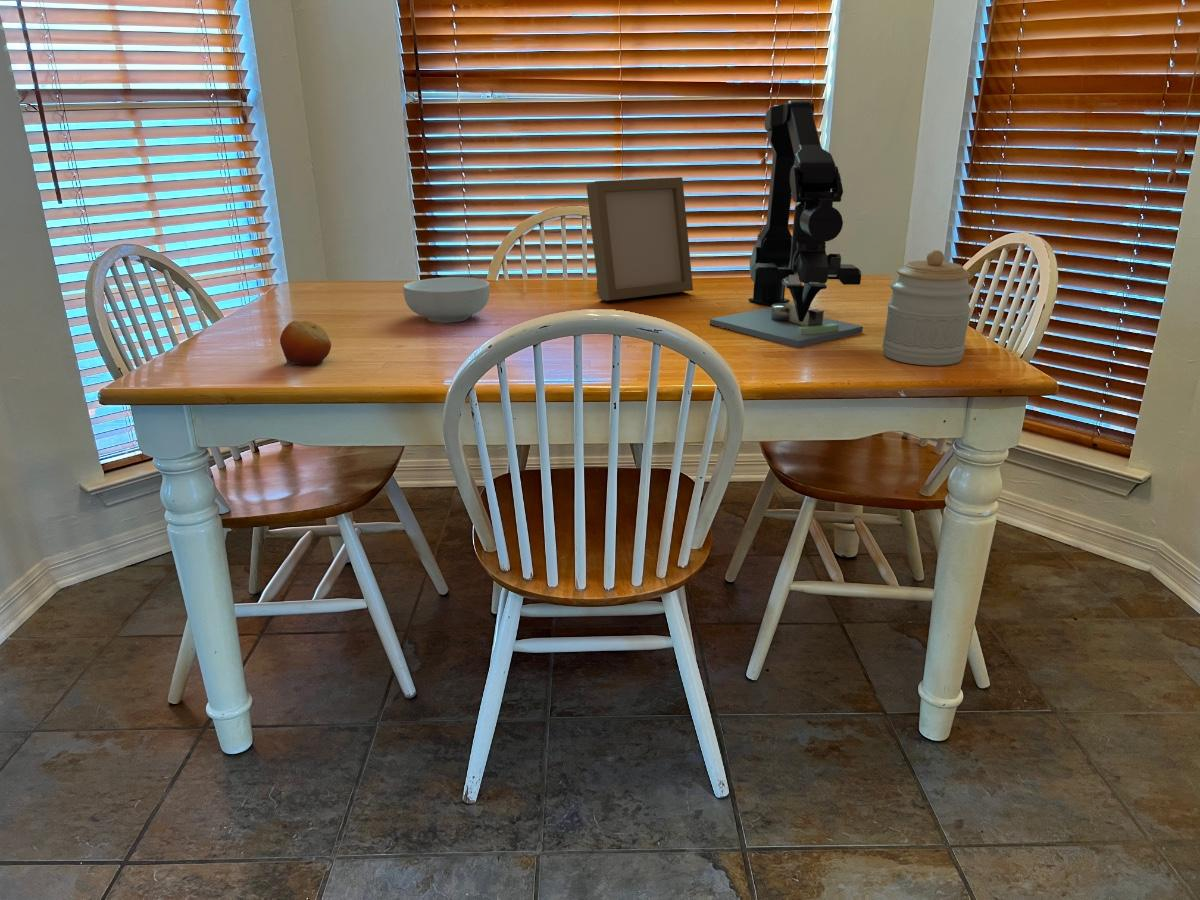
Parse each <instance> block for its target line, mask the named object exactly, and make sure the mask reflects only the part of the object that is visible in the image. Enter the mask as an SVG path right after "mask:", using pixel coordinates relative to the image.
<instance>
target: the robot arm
mask: <svg viewBox="0 0 1200 900" xmlns="http://www.w3.org/2000/svg"><path fill="white" fill-rule="evenodd" d="M814 116H815V105H814V102H813V101H810V100H788V101H786V102H784V103H783V104H779V105H778V104H777V105H772V107H770V108H769V109H768V110H767V111H766V112H765V117H764V129H765V131H766V138H767V140H768V142H769V145H770V147H771V149H772V162H771V172H770V182H769V183H770V184H769V193H768V203H767V214H766V223H765V225H764V226H763V227H762V229H761V230H760V232H759V233H758V235H757V239H756V244H755V245H754V246H753V249H752V252H751V256H750V260H749V272H750V279H751V280H752V281H753V292H752V293H753V295H752V297H751V298H748V302H752V303H757V304H761V305H766V306H772V305H773V304H776V303H789V302H791V301H790V299H788V298H785V295H786V294H785V292H786V289H789V292H790V294H791V297H792V302H793V303H794V305H795V308H796V312H797V316H798V320H799V322H803V320H804V318H805V316H806V314H807V311H808V309H809V307H810V308H811V305H812V303H813V300H814V299H815V297H816V296H817V294H819V292H820V291H822V290H826V289H827V287H828V286H827V285H826V283H827V282H828V280H839V282H840V283H841V284H842V285H845V286H846V285H848V286H849V285H852V286H853V285H856V286H859V285H861V280H862V271H861V270H860V269H859V268H858V267H857V266H856V265H853V263H851V264H848V263H846V264H844V263H842V256H841V253H829V254H827V252H826V247H827V246H826V244H827V242H830V241H833V240H834V239H835V238H837V237H838V236H839V234H840V233H841V231H842V229H843V225H844V221H843V217H842V214H841V212H840V211H839V210H838V209H837V208H835V207H834V205H833V203H841V202H842V197H843V194H844V189H843V183H842V179H841V173H840V172H839V167H838V166H837V165H836V162H835V160H834V158H833V155H832V154H831V152H829V151H827V150H826V149H823V147H822V145H821V141H820V137H819V133H818V129H817V126H816V125H817V124H816V121H815V117H814ZM792 199H793V200H792ZM792 201H793V202H794V203H795V205H794V213H793V221H792V222H793V223H792V224H793V226H792V233H791V231H790V229H789V222H790V221H789V220H790V212H791V204H792Z"/></svg>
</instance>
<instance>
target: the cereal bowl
mask: <svg viewBox="0 0 1200 900" xmlns="http://www.w3.org/2000/svg"><path fill="white" fill-rule="evenodd" d="M490 287H491V286H490V282H489V281H487V280H485V279H482V278H481V279H480V278H475V277H456V276H454V277H451V276H450V277H448V276H447V277H435V278H434V277H433V278H426V279H425V278H424V279H420V280H414V281H410V282H407V283H405V284H404V285H403V287H402V289H403V291H402V292H403V296H404V300H405V303H406V305H407V306H408V307H409V309H410V310H411V311H412V312H413V313H415V314H417V315H420V316H422V317H425V318H427V319H428V321H430V322H433V323H443V324H444V323H445V324H446V323H447V324H448V323H459V322H463V321H466V320H468V319H469V318H470V316H473V315H475V314H477V313H479V312H480V311H482V310H483V309H484V308H485V307H486V305H487V303H489V299H490V295H491V293H490V292H491V291H490V290H491V289H490Z"/></svg>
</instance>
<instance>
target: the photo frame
mask: <svg viewBox="0 0 1200 900" xmlns="http://www.w3.org/2000/svg"><path fill="white" fill-rule="evenodd" d="M586 194H587V202H588V211H589V219H590V231H591V238H592V239H591V240H592V246H593V255H594V256H593V257H594V263H595V273H596V291H598V299H601V300H605V301H604V302H607V301H614V300H615V301H618V300H624V299H632V298H640V297H641V298H642V297H648V296H658V295H665V294H674V293H682V292H691V291H694V288H693V287H694V284H693V275H692V265H691V264H692V263H691V255H690V242H689V232H688V231H689V230H688V222H687V213H686V201H685V200H686V199H685V192H684V180H683V177H681V176H678V177H677V176H676V177H661V178H660V177H657V178H636V179H616V180H615V179H613V180H612V179H611V180H597V181H592V182H590V183H587V184H586Z"/></svg>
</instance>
